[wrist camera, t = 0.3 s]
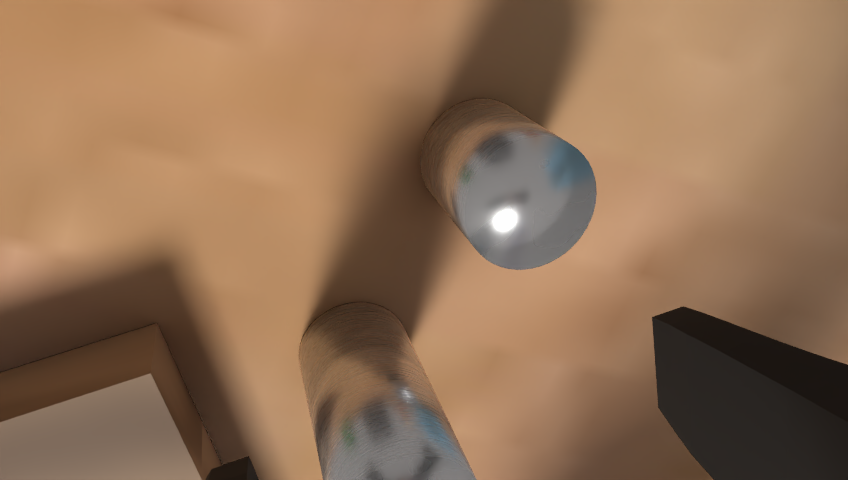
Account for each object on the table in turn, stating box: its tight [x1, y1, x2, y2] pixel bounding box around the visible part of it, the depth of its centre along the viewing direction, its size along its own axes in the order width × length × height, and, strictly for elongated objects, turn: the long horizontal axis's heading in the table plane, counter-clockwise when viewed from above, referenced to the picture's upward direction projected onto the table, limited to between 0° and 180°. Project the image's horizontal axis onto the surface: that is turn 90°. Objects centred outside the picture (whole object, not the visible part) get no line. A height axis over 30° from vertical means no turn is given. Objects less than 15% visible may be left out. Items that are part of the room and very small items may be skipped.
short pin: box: [420, 98, 596, 270], centre depth 19 cm, size 3×3×4 cm
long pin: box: [299, 302, 476, 480], centre depth 19 cm, size 3×3×7 cm
